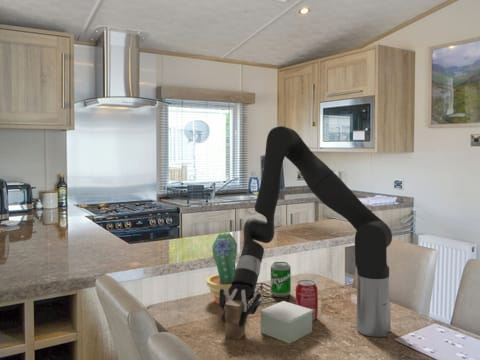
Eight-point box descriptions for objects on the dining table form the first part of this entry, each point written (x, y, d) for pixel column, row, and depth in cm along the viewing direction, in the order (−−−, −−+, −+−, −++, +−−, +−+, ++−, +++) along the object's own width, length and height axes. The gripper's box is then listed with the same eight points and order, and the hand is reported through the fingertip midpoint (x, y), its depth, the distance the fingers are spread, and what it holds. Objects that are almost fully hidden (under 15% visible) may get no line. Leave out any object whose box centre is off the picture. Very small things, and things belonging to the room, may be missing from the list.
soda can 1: (271, 290, 168) (271, 260, 168) (290, 291, 167) (290, 261, 167) (270, 297, 161) (270, 265, 160) (290, 298, 160) (290, 266, 159)
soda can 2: (304, 312, 145) (304, 277, 144) (322, 318, 140) (322, 282, 139) (291, 318, 140) (291, 282, 140) (309, 324, 135) (309, 287, 135)
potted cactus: (197, 301, 157) (196, 234, 156) (225, 290, 169) (224, 228, 167) (228, 311, 147) (227, 239, 146) (256, 299, 159) (255, 232, 157)
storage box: (313, 332, 130) (313, 309, 129) (289, 344, 122) (289, 320, 121) (283, 322, 138) (283, 300, 137) (259, 333, 130) (259, 310, 129)
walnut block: (244, 333, 129) (244, 301, 128) (239, 339, 125) (238, 306, 124) (231, 331, 131) (230, 299, 130) (225, 337, 126) (224, 304, 126)
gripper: (222, 265, 136) (206, 315, 126) (265, 269, 131) (252, 322, 120) (229, 276, 141) (214, 326, 131) (271, 281, 136) (258, 333, 126)
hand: (232, 324), depth 126 cm, fingers closed on walnut block, 4 cm apart
